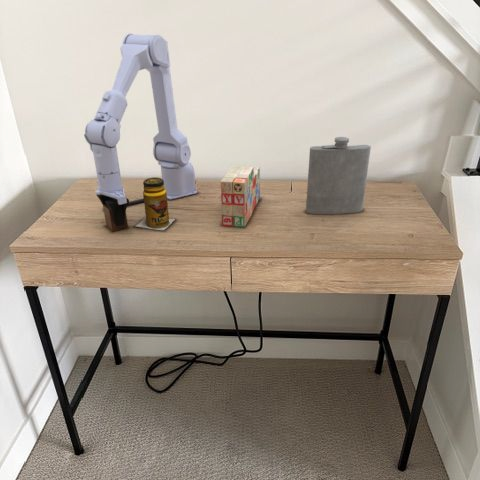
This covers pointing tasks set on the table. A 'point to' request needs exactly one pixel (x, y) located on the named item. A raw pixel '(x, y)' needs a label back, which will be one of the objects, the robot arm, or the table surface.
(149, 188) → the condiment
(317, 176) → the hip flask
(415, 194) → the table surface
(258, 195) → the stack of blocks
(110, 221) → the walnut block
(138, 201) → the serving spoon
